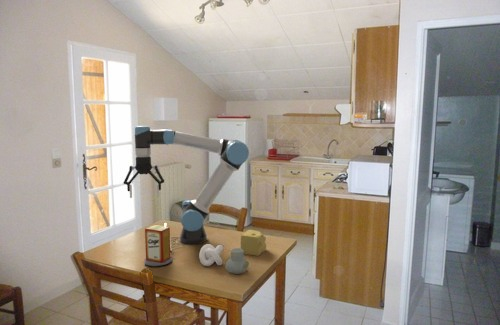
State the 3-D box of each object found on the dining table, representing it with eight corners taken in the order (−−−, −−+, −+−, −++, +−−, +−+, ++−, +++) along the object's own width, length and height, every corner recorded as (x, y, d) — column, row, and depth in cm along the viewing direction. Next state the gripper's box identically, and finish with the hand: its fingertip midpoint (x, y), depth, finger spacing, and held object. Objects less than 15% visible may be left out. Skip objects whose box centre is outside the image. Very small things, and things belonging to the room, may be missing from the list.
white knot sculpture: (230, 266, 173) (229, 247, 172) (206, 271, 167) (206, 252, 166) (219, 258, 183) (219, 240, 182) (197, 263, 177) (196, 245, 176)
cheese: (266, 249, 194) (266, 231, 193) (258, 256, 185) (258, 237, 183) (248, 247, 199) (248, 229, 197) (239, 253, 189) (239, 234, 188)
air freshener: (240, 277, 160) (240, 255, 159) (223, 274, 164) (223, 253, 162) (250, 268, 170) (250, 247, 169) (234, 265, 174) (234, 245, 172)
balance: (171, 246, 199) (171, 221, 198) (171, 255, 186) (170, 229, 184) (160, 247, 198) (159, 222, 197) (159, 256, 185) (158, 230, 183)
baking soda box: (170, 258, 179) (169, 226, 177) (162, 263, 173) (161, 230, 171) (154, 255, 182) (153, 224, 180) (146, 260, 176) (144, 228, 174)
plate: (172, 256, 185) (172, 253, 185) (171, 266, 173) (171, 263, 172) (145, 258, 183) (145, 255, 183) (143, 268, 170) (143, 265, 170)
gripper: (168, 155, 194) (169, 194, 197) (118, 155, 189) (120, 196, 192) (167, 156, 187) (169, 197, 189) (116, 157, 182) (118, 199, 185)
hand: (144, 196), depth 191 cm, fingers open, 13 cm apart
